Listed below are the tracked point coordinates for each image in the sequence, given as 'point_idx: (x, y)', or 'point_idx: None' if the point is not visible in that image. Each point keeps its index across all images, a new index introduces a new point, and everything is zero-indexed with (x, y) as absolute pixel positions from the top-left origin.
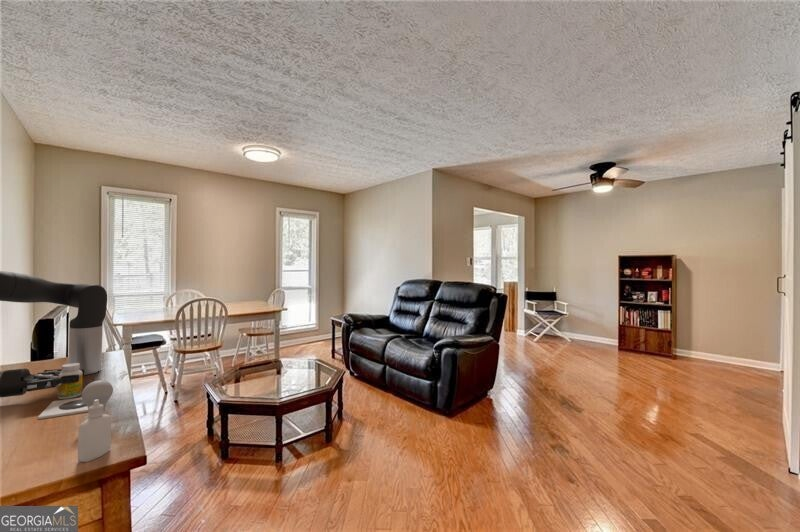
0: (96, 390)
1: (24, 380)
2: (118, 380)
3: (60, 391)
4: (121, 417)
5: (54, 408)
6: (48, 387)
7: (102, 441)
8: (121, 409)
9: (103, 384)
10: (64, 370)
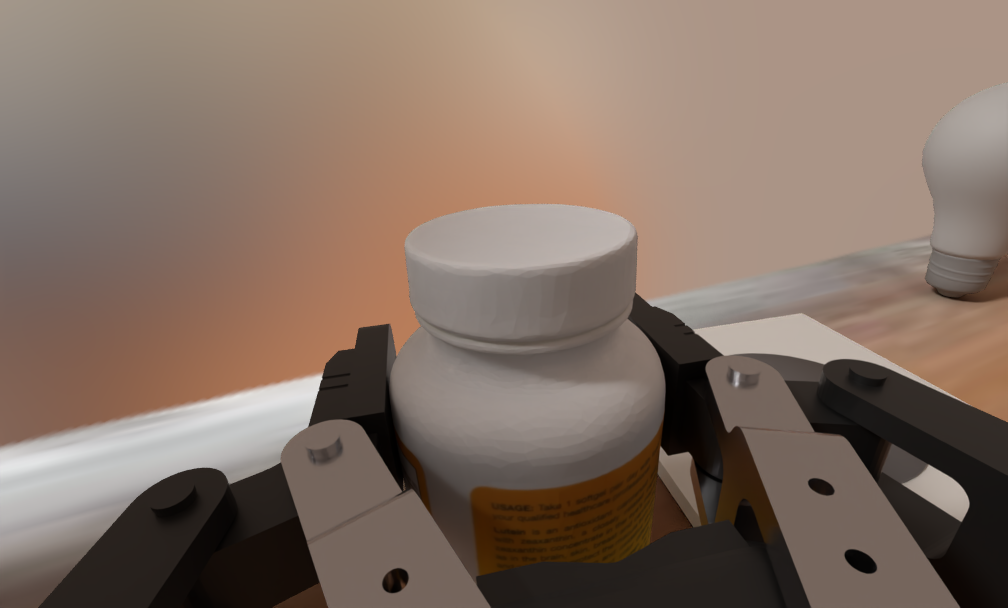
0: None
1: None
2: (210, 421)
3: None
4: (853, 269)
5: (942, 502)
6: (919, 505)
7: None
8: (776, 286)
9: None
10: (628, 304)
